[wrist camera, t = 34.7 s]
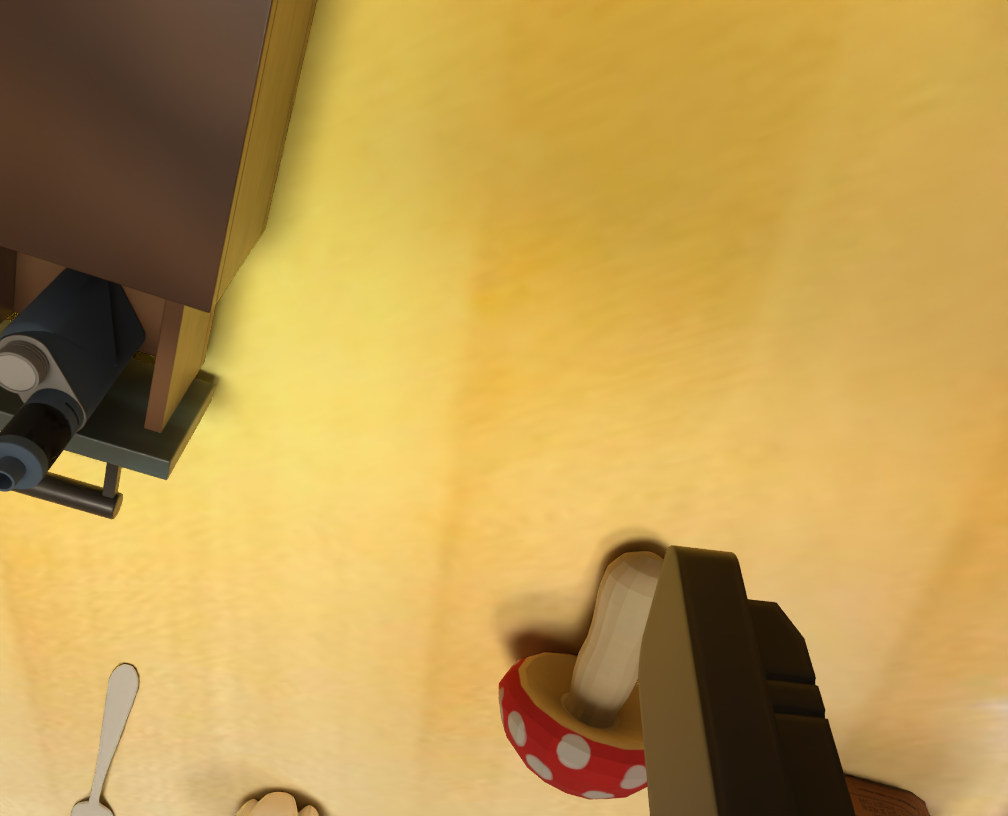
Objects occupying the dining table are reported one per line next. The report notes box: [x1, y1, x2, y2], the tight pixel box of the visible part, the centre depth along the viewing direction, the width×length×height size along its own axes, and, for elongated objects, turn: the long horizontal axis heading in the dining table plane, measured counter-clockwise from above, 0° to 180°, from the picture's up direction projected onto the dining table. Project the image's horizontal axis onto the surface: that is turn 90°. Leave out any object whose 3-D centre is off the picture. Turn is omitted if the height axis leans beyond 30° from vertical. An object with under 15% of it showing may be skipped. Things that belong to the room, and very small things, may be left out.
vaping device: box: [0, 268, 145, 491], centre depth 41 cm, size 3×5×12 cm, turn 14°
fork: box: [71, 664, 139, 816], centre depth 69 cm, size 3×24×2 cm, turn 159°
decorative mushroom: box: [499, 551, 663, 799], centre depth 56 cm, size 11×11×15 cm
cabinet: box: [0, 0, 317, 313], centre depth 37 cm, size 16×13×9 cm
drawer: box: [0, 246, 216, 519], centre depth 44 cm, size 20×11×7 cm, turn 161°
